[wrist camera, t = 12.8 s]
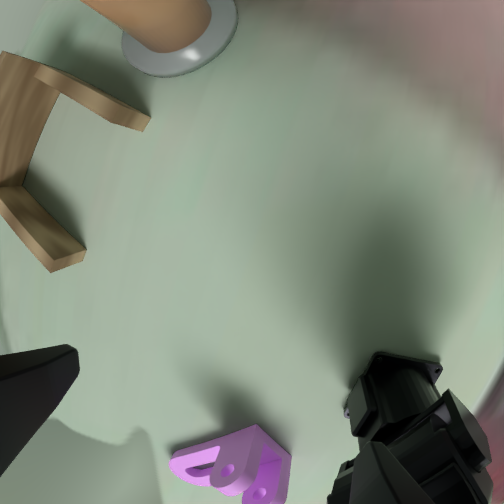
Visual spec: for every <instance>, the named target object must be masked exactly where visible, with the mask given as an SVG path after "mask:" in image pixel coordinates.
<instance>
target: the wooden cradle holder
mask: <svg viewBox="0 0 504 504" xmlns="http://www.w3.org/2000/svg"><path fill="white" fill-rule="evenodd" d="M60 92H61V93H63V94H65V95H66V96H68V97H70V98H71V99H73V100H75V101H76V102H78V103H80V104H81V105H83V106H85V107H86V108H88V109H90V110H91V111H93V112H95V113H96V114H98V115H99V116H101V117H103V118H104V119H106V120H108V121H109V122H111V123H114V124H118V125H121V126H125V127H128V128H131V129H135V130H138V131H141V132H143V131H144V129H145V127H146V125H147V124H148V122H149V120H150V119H151V117H149V116H147V115H145V114H144V113H142V112H140V111H138V110H137V109H135V108H133V107H131V106H129V105H128V104H126V103H124V102H122V101H120V100H118V99H117V98H115V97H113V96H111V95H109V94H107V93H105V92H104V91H102V90H100V89H98V88H96V87H94V86H92V85H90V84H88V83H86V82H84V81H82V80H80V79H78V78H76V77H74V76H72V75H70V74H68V73H66V72H64V71H62V70H59V69H56V68H53V67H51V66H48V65H45V64H42V63H39V62H36V61H33V60H30V59H27V58H24V57H21V56H18V55H15V54H11V53H8V52H5V51H2V53H1V54H0V214H1V215H2V217H3V218H4V219H5V221H6V222H7V223H8V225H9V226H10V227H11V228H12V230H13V231H14V232H15V233H16V234H17V236H18V237H19V238H20V239H21V241H22V242H23V243H24V244H25V245H26V246H27V248H28V249H29V250H30V251H31V252H32V253H33V254H34V256H35V257H36V258H37V259H38V260H39V261H40V262H41V263H42V264H43V266H44V267H45V268H46V269H47V270H48V271H49V272H50V273H52V272H55V271H57V270H60V269H63V268H65V267H68V266H71V265H73V264H76V263H79V262H81V261H83V258H84V255H85V253H86V249H85V248H84V247H83V246H82V245H81V244H80V243H79V242H78V241H77V240H75V239H74V238H73V237H72V236H71V235H70V234H69V233H68V232H67V231H66V230H65V229H64V228H63V227H62V226H61V225H60V224H59V223H58V222H57V221H56V220H55V219H54V218H53V217H52V216H51V215H50V214H49V213H48V212H47V211H46V210H45V209H44V208H43V207H42V206H41V205H40V204H39V203H38V202H37V201H36V200H35V199H34V198H33V197H32V196H31V195H30V194H29V193H28V191H27V190H26V189H25V188H24V187H23V186H22V184H23V181H24V178H25V175H26V172H27V169H28V166H29V163H30V160H31V158H32V155H33V152H34V150H35V147H36V144H37V142H38V139H39V137H40V135H41V132H42V130H43V128H44V125H45V123H46V121H47V119H48V116H49V114H50V112H51V110H52V108H53V106H54V104H55V102H56V100H57V98H58V96H59V94H60Z"/></svg>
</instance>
